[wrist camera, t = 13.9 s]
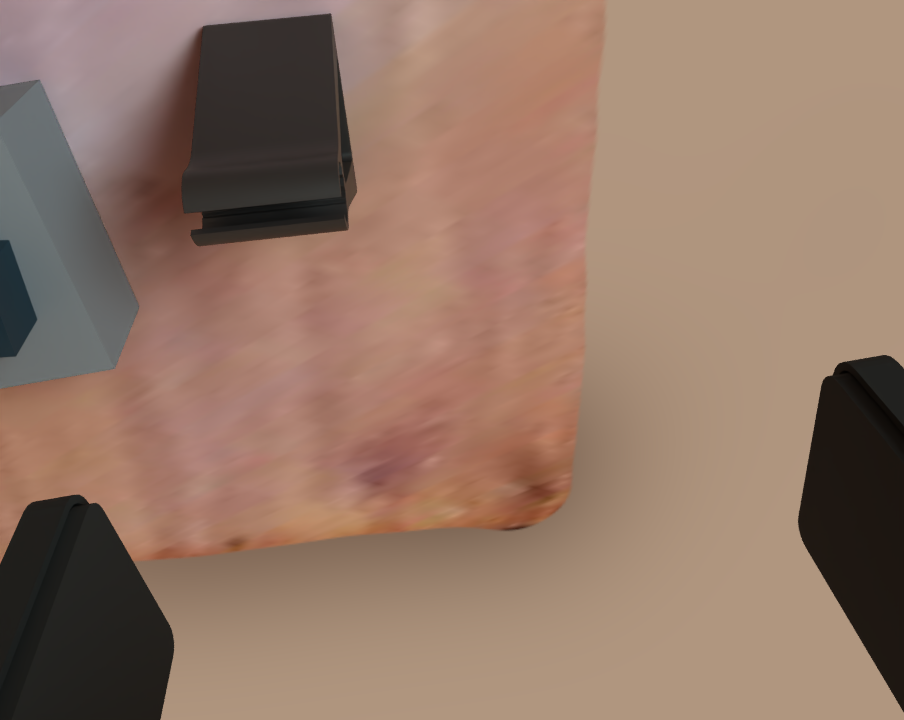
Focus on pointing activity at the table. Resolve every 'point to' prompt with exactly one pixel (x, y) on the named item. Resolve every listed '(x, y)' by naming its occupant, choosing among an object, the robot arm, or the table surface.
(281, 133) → the phone stand
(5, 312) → the watch
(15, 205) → the base block
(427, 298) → the table surface
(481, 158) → the table surface
